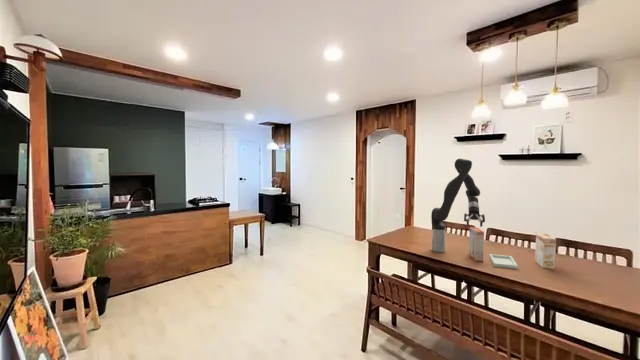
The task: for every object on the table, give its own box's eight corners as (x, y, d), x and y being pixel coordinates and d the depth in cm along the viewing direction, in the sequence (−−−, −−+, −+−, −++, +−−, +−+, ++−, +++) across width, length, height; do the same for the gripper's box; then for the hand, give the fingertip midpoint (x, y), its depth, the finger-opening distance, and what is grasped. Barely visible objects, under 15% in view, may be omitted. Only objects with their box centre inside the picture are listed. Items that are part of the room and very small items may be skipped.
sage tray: (493, 266, 196) (493, 263, 196) (489, 256, 216) (489, 253, 216) (517, 269, 191) (518, 265, 191) (511, 259, 211) (511, 256, 211)
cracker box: (483, 261, 206) (484, 231, 205) (474, 261, 207) (475, 231, 206) (477, 255, 220) (478, 227, 218) (468, 254, 221) (469, 227, 219)
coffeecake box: (555, 269, 191) (556, 239, 190) (542, 267, 194) (543, 238, 192) (546, 261, 205) (548, 233, 204) (534, 260, 208) (535, 233, 206)
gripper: (464, 205, 236) (464, 222, 227) (484, 206, 231) (485, 223, 221) (463, 210, 242) (463, 227, 232) (483, 212, 236) (484, 229, 226)
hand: (474, 225), depth 226 cm, fingers open, 8 cm apart
